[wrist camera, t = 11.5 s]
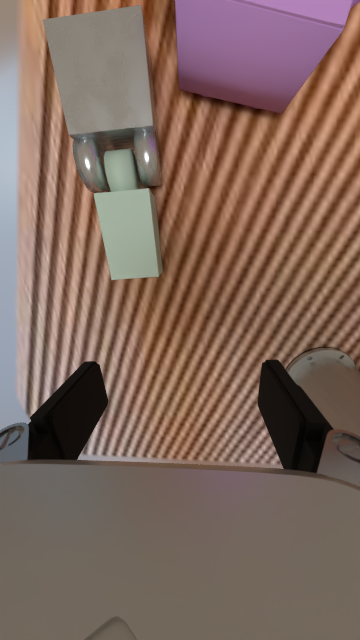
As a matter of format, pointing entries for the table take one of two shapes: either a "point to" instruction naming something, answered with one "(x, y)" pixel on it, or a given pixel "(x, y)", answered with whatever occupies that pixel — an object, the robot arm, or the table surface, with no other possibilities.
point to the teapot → (254, 47)
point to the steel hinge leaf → (106, 90)
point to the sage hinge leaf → (128, 220)
